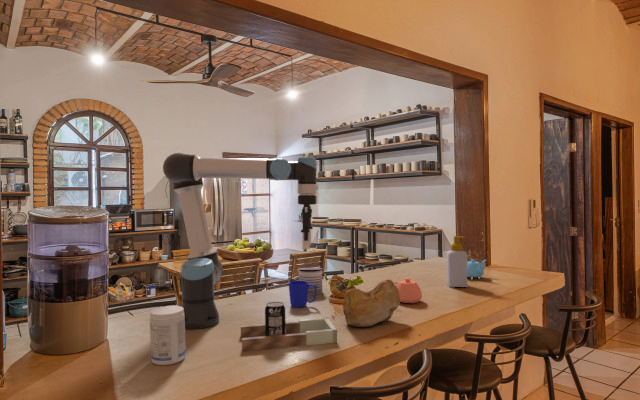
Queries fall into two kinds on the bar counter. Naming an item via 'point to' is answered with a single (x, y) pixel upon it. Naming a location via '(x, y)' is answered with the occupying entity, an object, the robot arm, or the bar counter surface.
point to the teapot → (475, 268)
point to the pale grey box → (318, 331)
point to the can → (312, 279)
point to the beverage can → (275, 319)
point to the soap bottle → (457, 265)
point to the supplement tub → (167, 335)
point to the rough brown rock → (371, 304)
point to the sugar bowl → (409, 291)
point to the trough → (271, 337)
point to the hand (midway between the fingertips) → (306, 246)
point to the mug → (300, 293)
